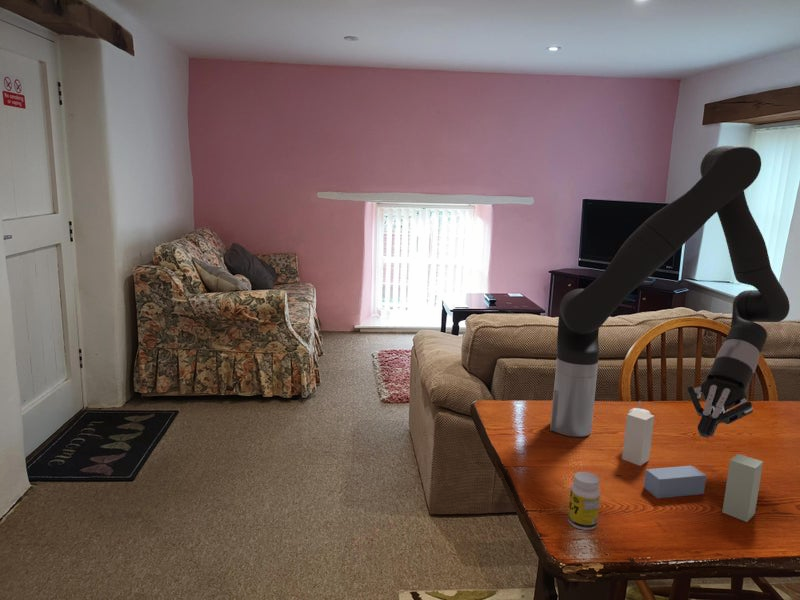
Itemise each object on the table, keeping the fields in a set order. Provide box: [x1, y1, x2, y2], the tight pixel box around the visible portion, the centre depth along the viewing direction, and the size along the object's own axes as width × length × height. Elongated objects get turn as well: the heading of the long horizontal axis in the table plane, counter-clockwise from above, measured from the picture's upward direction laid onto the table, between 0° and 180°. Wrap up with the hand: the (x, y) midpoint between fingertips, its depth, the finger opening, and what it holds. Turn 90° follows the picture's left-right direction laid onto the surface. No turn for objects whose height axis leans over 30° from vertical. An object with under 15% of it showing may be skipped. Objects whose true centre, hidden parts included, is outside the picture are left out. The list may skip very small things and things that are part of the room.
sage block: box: [721, 453, 764, 523], centre depth 104 cm, size 4×4×10 cm
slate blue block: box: [643, 465, 707, 499], centre depth 112 cm, size 4×4×10 cm
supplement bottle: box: [567, 471, 601, 531], centre depth 99 cm, size 5×5×8 cm
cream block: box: [621, 410, 655, 467], centre depth 124 cm, size 4×4×10 cm
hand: (703, 435), depth 119 cm, fingers closed
